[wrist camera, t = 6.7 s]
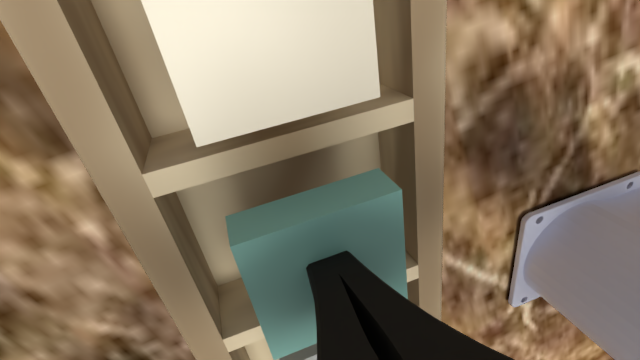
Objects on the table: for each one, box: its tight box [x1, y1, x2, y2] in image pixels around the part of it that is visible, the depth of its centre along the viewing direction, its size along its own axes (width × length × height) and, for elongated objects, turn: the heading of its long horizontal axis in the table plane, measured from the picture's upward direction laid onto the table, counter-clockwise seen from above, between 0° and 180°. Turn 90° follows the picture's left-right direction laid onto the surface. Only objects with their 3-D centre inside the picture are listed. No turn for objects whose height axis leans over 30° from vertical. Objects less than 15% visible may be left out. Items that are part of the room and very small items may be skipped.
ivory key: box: [141, 0, 380, 147], centre depth 9 cm, size 5×5×3 cm
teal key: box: [225, 168, 408, 360], centre depth 12 cm, size 5×5×3 cm
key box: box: [0, 0, 447, 360], centre depth 14 cm, size 11×24×3 cm, turn 10°
